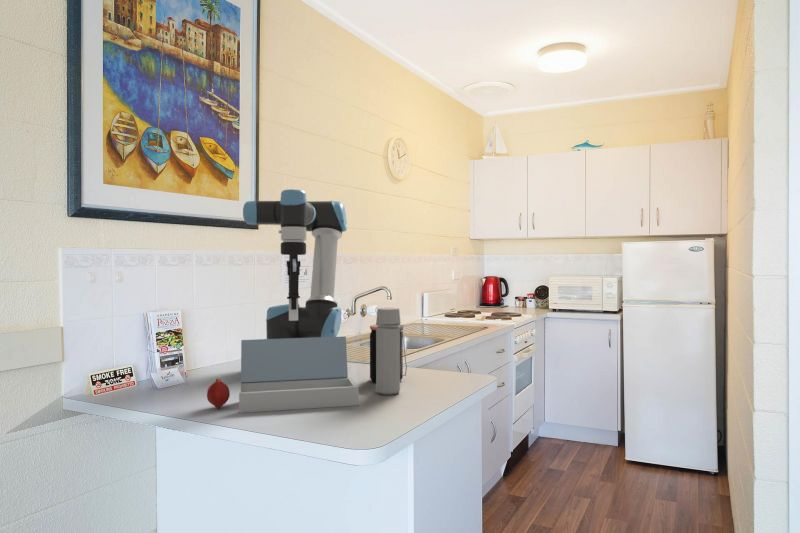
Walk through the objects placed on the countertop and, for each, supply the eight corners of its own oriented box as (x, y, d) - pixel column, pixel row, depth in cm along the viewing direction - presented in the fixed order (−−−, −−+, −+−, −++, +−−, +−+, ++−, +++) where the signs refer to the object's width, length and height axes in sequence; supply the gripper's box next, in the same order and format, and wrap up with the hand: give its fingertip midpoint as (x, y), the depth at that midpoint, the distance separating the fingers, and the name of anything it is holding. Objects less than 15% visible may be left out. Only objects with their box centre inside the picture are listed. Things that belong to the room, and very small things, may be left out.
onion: (207, 405, 150) (207, 376, 150) (229, 404, 152) (229, 375, 152) (206, 411, 145) (206, 381, 145) (229, 410, 146) (229, 380, 146)
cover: (241, 385, 156) (241, 341, 160) (347, 379, 164) (345, 337, 168) (240, 384, 155) (241, 340, 159) (347, 379, 162) (345, 336, 166)
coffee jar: (399, 385, 175) (399, 328, 175) (366, 383, 177) (366, 327, 177) (405, 378, 186) (405, 324, 186) (374, 376, 188) (374, 323, 188)
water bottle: (377, 396, 161) (377, 309, 161) (374, 390, 169) (374, 307, 168) (408, 395, 162) (408, 309, 162) (404, 388, 170) (404, 307, 170)
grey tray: (241, 401, 155) (240, 383, 155) (351, 394, 163) (351, 377, 163) (239, 412, 144) (239, 393, 144) (358, 405, 151) (358, 386, 151)
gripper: (280, 242, 172) (280, 318, 173) (281, 240, 160) (281, 322, 160) (304, 242, 174) (304, 318, 174) (307, 240, 162) (307, 322, 162)
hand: (293, 320), depth 167 cm, fingers closed
